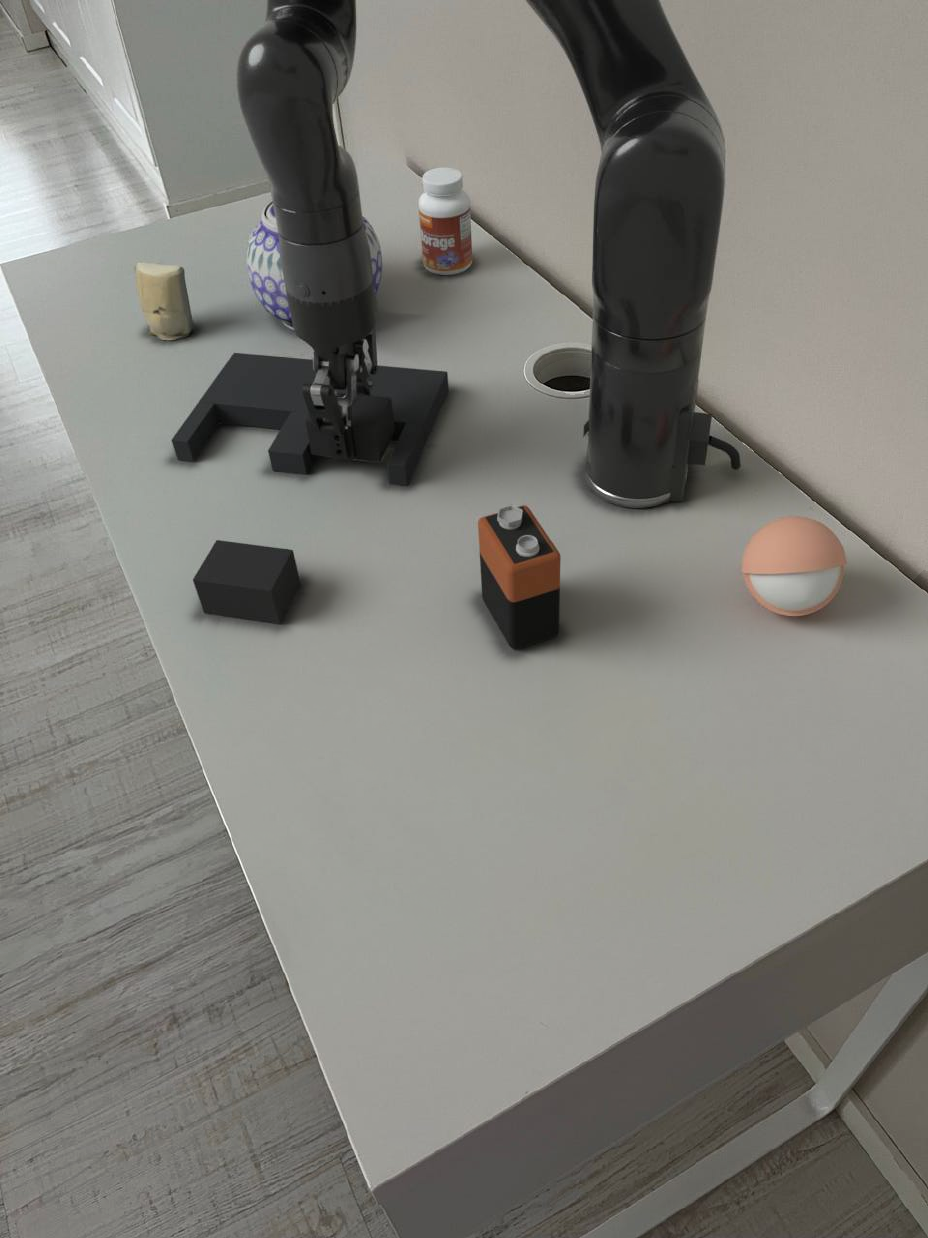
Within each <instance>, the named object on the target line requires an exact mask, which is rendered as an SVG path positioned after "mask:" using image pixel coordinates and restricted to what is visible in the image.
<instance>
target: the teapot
mask: <svg viewBox="0 0 928 1238" xmlns="http://www.w3.org/2000/svg"><path fill="white" fill-rule="evenodd" d="M268 184H269V186H270V182H269V183H268ZM363 223H364V228H365V232H366V236H367V239H368V243H369V248H370V255H371V263H372V271H373V279H374V288H375V296H377V294H378V290H379V288H380V286H381V280H382V274H383V256H382V255H383V253H382V248H381V244H380V240H379V238H378V235H377V234H376V232H375V229H374V227H373V226H372V224H371V223H370V221H368V219H367V218H366V217H365V216H363ZM246 268H247V274H248V279H249V281H250V284H251V288H252V290H253V293H254V295H255V297H256V299H257V301H259V303H260V305H262V307H263V308H264V309H265V310H266V313H268V314H270V315H272V316H273V317H275V318H276V319H278V320H279V321H281V323H282V324H283V325H284V326H285V327H287V328H288V329H291V331H294V329H293V324H292V319H291V313H290V308H289V303H288V298H287V293H286V287H285V282H284V277H283V271H282V266H281V260H280V250H279V235H278V228H277V223H276V218H275V213H274V207H273V202H272V201H270V202H269V203H267V204H266V205H265V207H264V208H263V210H262V211H261V221H260V222H259V223H258V224H257V225H255V226H254V228H253V230H252V231H251V234H250V235H249V239H248V242H247V248H246Z"/></svg>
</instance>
